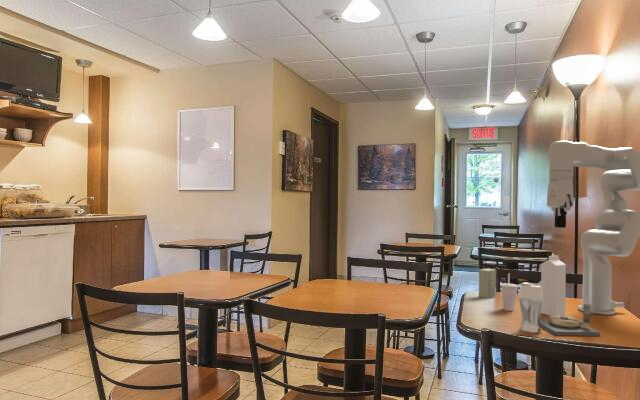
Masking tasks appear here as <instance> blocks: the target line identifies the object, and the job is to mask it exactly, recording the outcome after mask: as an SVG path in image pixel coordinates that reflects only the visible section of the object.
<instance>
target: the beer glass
mask: <svg viewBox="0 0 640 400" xmlns="http://www.w3.org/2000/svg"><path fill="white" fill-rule="evenodd" d="M519 285H520V286H519V295H518V296H519V297H518V299H519V300H518V301H519V306H520V308H519V309H520V313H521V324H520V330H521V331H522V332H523V333H530V334H540V333H541V332H542V329H541V328H542V327H540V318H541V314H542V313H541V310H542V304H543V290H542V285H541V283H533V282H521V283H520V284H519Z"/></svg>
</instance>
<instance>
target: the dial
mask: <svg viewBox="0 0 640 400" xmlns="http://www.w3.org/2000/svg"><path fill="white" fill-rule="evenodd" d="M582 312H583V313H582V314H583V317H582V319H583V320H580V319H578V318H576V317H573V316H567V315H563V316H560V315H553V316H550V315H548V318H549V323H551V324H553V325H557V326H562V327H586V328H589V327H590V324H591V314H592V313H591V304H584V308H583V311H582Z"/></svg>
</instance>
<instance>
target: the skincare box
mask: <svg viewBox="0 0 640 400" xmlns="http://www.w3.org/2000/svg"><path fill="white" fill-rule="evenodd" d="M496 276H497V270H496V269H493V268H489V267H487V268H481V269H479V270H478V297H479V298H484V299H490V298H495V297H496V291H497V290H496V288H497V287H496V283H497V279H496V278H497V277H496Z"/></svg>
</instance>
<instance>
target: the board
mask: <svg viewBox="0 0 640 400" xmlns="http://www.w3.org/2000/svg"><path fill="white" fill-rule="evenodd" d="M540 328H542V329H544V330H546V331H547V332H549V333H551V334H553V336H567V335H580V336H579V337H601V332H600V331H599V330H596V329H594V328H592V327H590V326H589V328H586V327H562V326H557V325H553V324H551V323H549V317H548V318H545V317H544V318H543V317H540ZM581 335H582V336H581Z"/></svg>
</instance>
